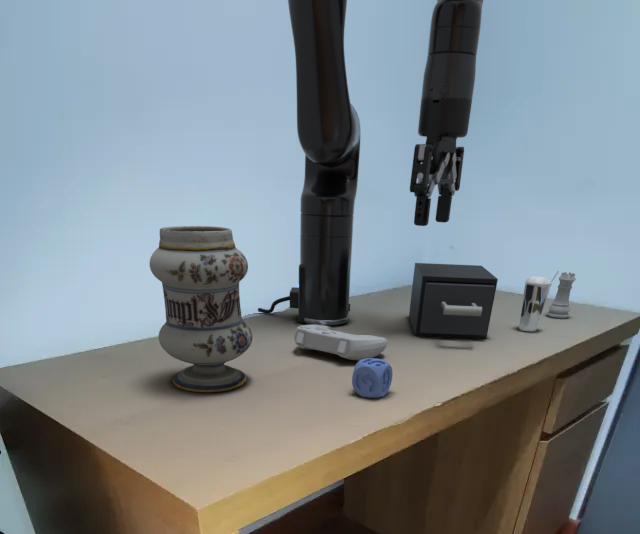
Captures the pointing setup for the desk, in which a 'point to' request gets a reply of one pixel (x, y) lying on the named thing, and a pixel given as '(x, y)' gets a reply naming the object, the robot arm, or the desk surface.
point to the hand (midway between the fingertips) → (431, 223)
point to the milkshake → (534, 301)
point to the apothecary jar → (202, 305)
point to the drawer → (456, 308)
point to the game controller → (339, 342)
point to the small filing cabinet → (444, 274)
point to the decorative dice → (372, 377)
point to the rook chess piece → (562, 297)
